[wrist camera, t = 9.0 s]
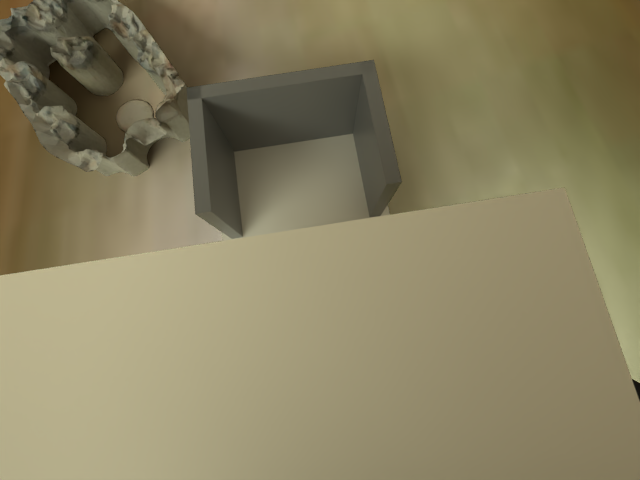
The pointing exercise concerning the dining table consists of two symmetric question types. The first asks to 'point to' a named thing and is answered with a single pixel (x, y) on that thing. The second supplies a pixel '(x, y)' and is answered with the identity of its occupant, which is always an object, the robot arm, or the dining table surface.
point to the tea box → (325, 356)
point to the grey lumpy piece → (88, 80)
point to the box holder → (291, 150)
